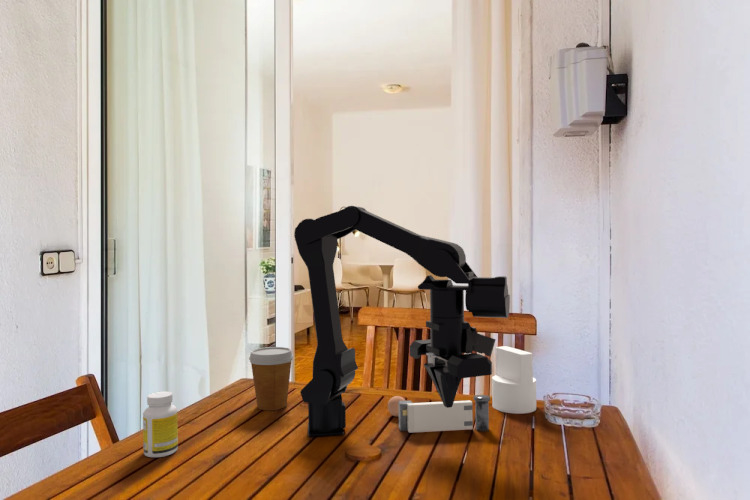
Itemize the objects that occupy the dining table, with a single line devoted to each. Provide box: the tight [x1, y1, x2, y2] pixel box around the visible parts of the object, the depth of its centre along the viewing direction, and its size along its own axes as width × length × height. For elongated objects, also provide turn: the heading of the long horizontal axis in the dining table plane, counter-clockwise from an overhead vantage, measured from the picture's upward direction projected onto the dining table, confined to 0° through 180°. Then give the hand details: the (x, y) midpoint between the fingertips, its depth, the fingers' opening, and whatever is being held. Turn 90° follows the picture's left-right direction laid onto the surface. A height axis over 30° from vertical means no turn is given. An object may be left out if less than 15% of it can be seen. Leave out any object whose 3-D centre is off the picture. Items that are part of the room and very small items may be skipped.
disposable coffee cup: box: [248, 346, 295, 411], centre depth 115 cm, size 10×10×12 cm
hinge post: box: [473, 394, 491, 432], centre depth 99 cm, size 3×3×6 cm
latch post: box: [398, 400, 413, 432], centre depth 99 cm, size 2×2×5 cm
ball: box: [387, 395, 407, 418], centre depth 107 cm, size 4×4×4 cm
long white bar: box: [407, 399, 474, 434], centre depth 98 cm, size 12×1×5 cm, turn 97°
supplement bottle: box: [142, 391, 179, 458], centre depth 90 cm, size 5×5×10 cm
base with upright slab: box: [491, 345, 537, 415], centre depth 112 cm, size 9×9×12 cm
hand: (448, 406), depth 91 cm, fingers closed
